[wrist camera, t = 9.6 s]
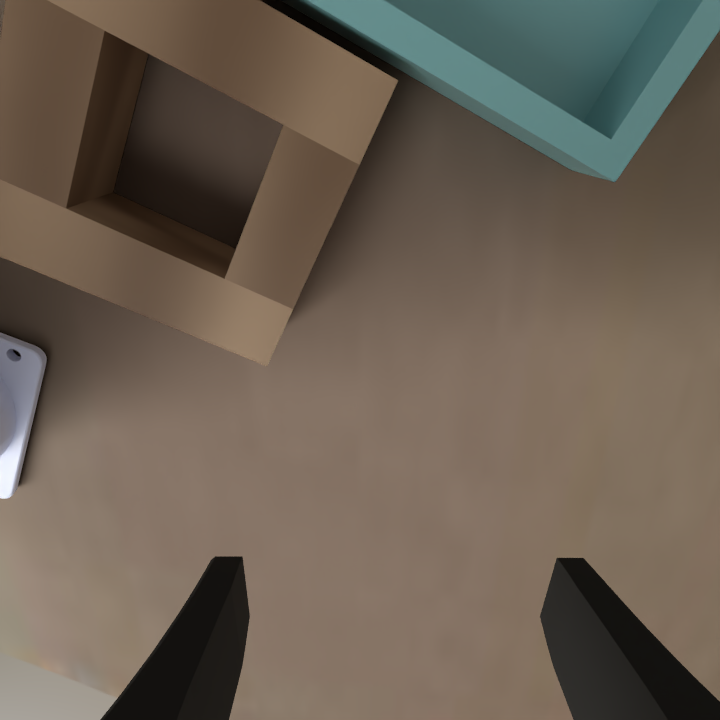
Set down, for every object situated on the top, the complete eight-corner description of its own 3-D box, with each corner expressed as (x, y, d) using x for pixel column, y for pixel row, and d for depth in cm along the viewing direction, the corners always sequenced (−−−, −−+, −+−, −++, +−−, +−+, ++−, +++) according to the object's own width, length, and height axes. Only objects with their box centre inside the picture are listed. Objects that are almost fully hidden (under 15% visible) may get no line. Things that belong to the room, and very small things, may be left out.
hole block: (32, 223, 17) (-29, 244, 14) (91, -86, 13) (24, -137, 10) (279, 329, 19) (266, 366, 16) (390, 85, 15) (398, 80, 12)
